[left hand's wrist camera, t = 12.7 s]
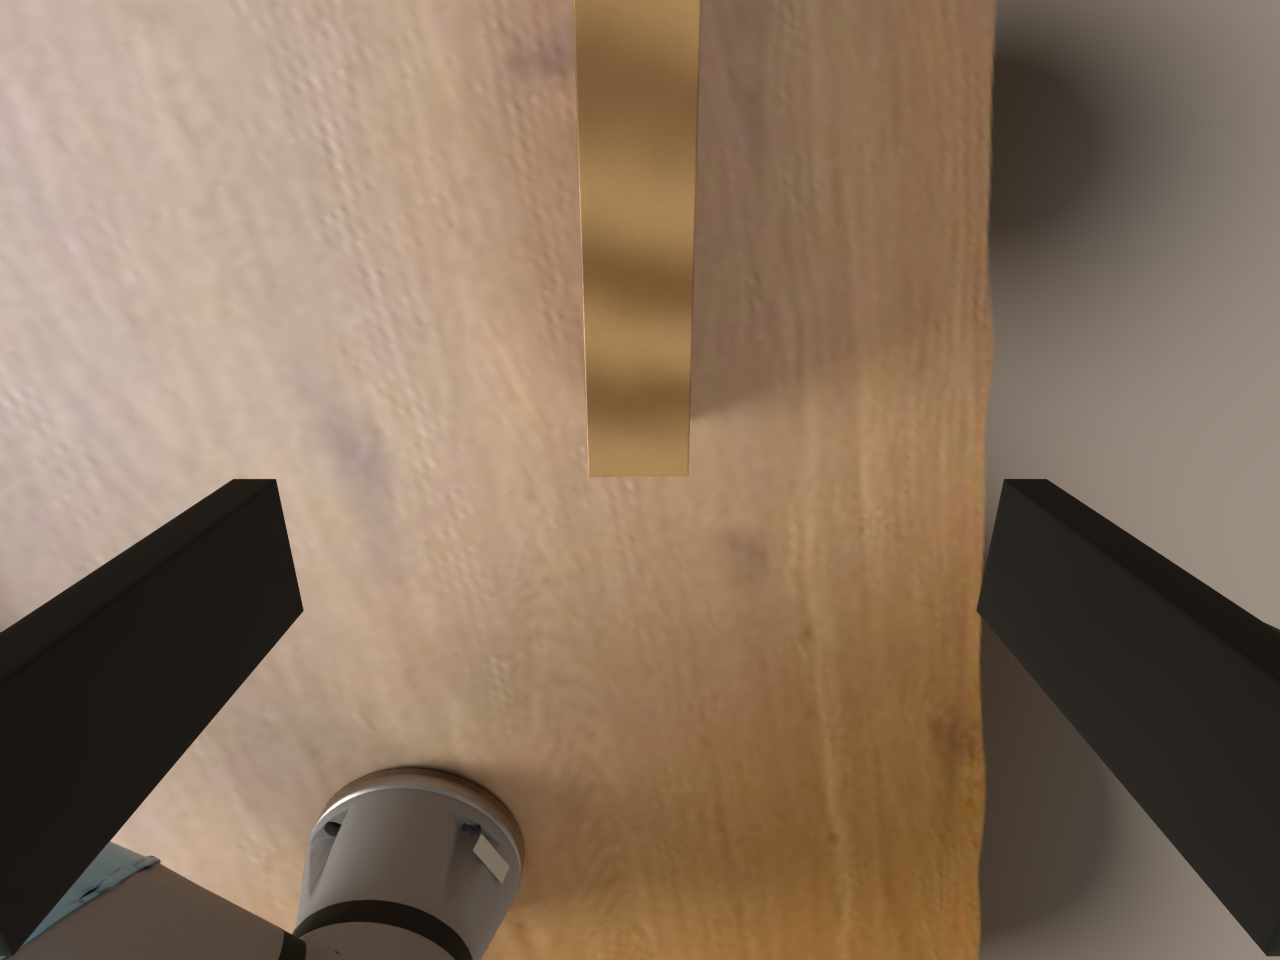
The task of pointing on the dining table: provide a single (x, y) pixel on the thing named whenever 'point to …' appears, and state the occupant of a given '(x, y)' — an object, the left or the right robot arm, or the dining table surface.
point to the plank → (637, 228)
